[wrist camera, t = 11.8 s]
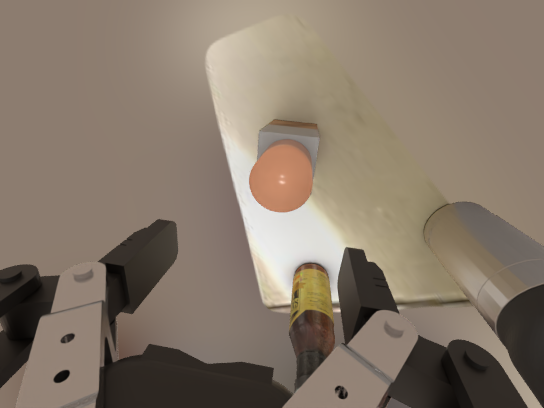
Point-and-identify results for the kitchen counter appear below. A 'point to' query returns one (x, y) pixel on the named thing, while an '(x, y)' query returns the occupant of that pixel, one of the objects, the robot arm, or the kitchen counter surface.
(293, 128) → the slate block
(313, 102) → the kitchen counter surface
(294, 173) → the clay cylinder
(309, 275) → the sauce bottle
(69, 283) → the robot arm
